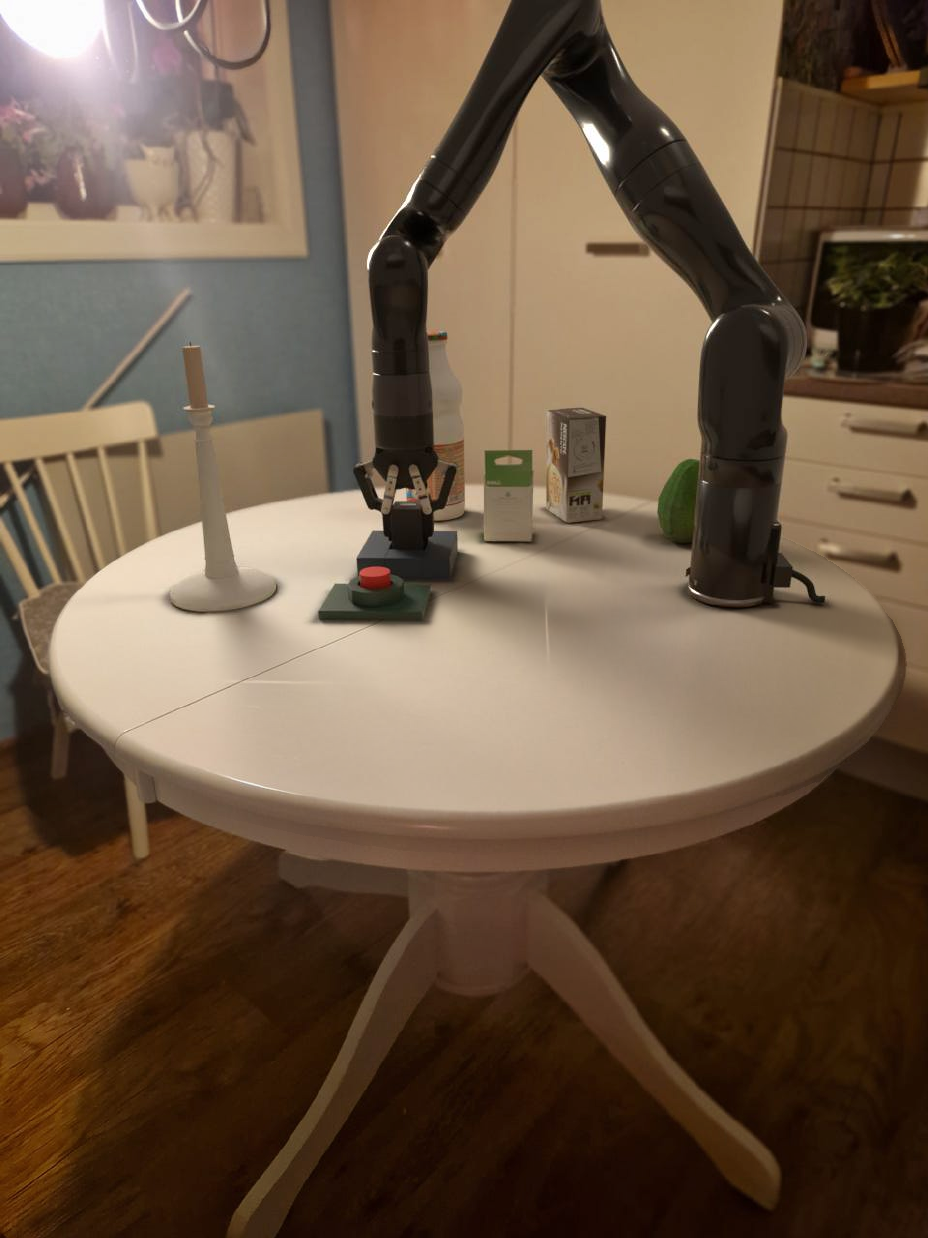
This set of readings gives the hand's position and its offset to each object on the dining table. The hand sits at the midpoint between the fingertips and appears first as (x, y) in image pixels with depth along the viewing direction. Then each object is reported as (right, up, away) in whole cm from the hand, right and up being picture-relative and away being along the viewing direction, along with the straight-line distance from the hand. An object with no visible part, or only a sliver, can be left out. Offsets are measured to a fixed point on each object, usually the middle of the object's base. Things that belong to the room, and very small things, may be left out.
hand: (409, 538), depth 115 cm
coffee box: (+25, +6, +23) cm, 34 cm away
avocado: (+39, 0, +9) cm, 40 cm away
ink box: (+14, +1, +12) cm, 18 cm away
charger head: (0, -1, +1) cm, 1 cm away
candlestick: (-23, -8, -7) cm, 25 cm away
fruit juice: (+3, +6, +24) cm, 25 cm away
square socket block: (0, -3, +1) cm, 4 cm away
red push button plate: (-3, -9, -12) cm, 16 cm away
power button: (-3, -7, -13) cm, 15 cm away
